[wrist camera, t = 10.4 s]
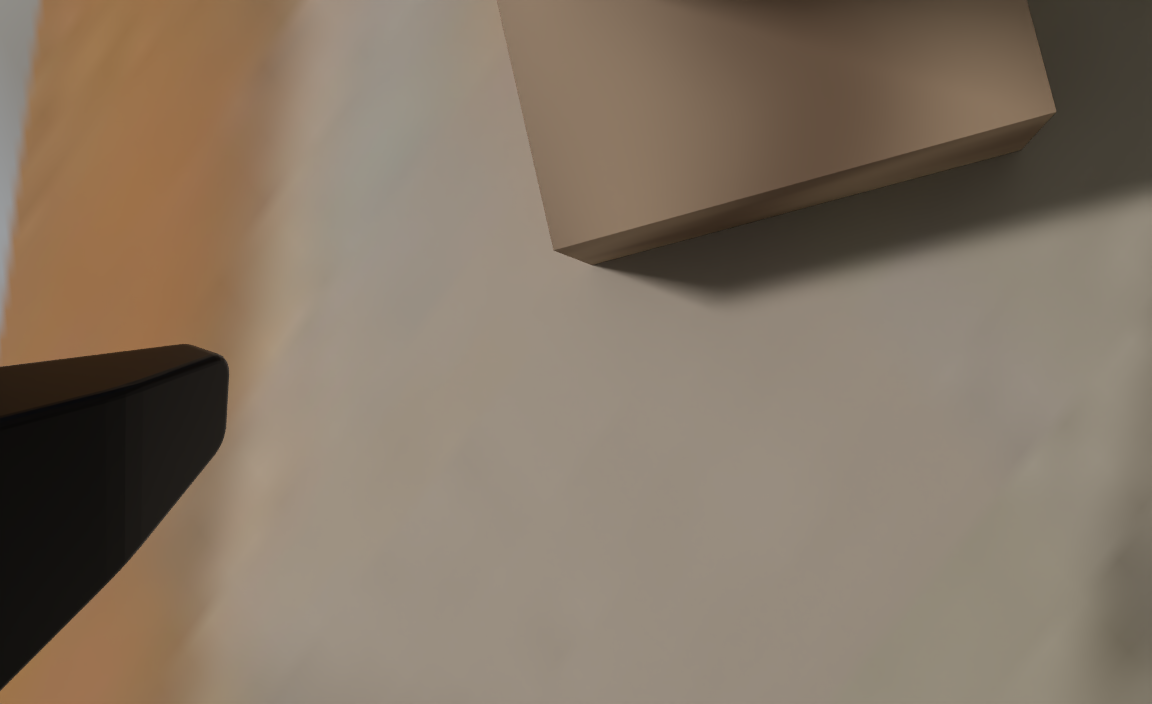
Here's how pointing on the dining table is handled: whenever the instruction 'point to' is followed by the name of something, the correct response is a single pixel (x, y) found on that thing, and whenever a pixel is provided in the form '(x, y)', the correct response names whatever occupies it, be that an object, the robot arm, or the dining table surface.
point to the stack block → (757, 106)
